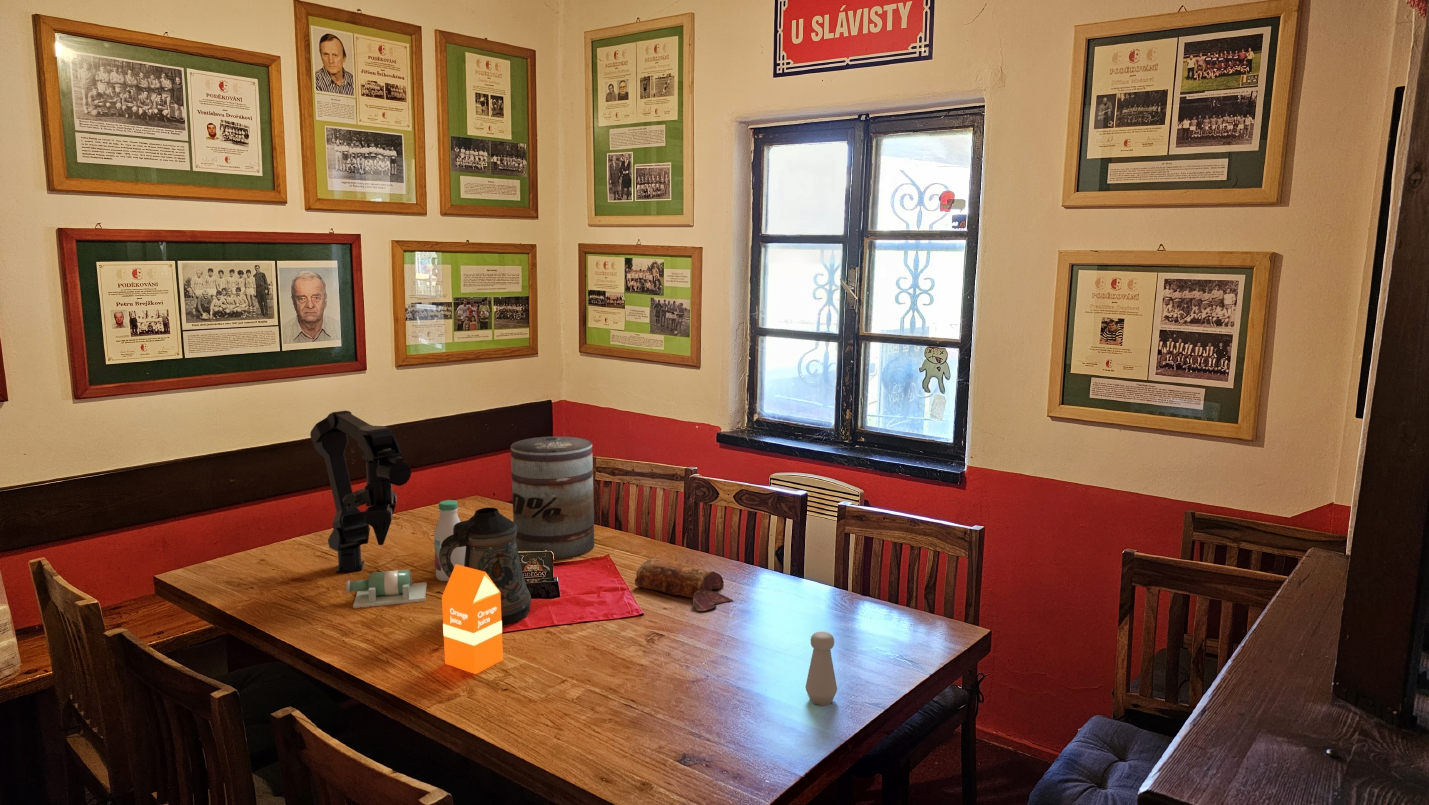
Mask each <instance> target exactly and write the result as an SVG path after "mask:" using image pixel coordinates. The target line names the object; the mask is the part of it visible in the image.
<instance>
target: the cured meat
mask: <svg viewBox="0 0 1429 805" xmlns="http://www.w3.org/2000/svg"><path fill="white" fill-rule="evenodd" d="M635 576H636V577H635V578H634V585H635V586H636V587H640V588H644V589H649V590H653V591H657V592H658V591H659V592H661V593H666V594H667V595H669V594H670V595H675V596H681V597H685V598H686V597H687V598H691V599H692V604H693V606H694V607H695V608H694V609H695V610H696V611H699V612H706V611H708V610H711V609H713V608H716V607H717V605H716V604H721V603H725V602H731V601H733V600H734V599H733V598H730V597H728V596H725V595H724V594H722V593H719V592H716V591H713V590H716V589H717V590H722V589H723V588H724V586H725V585H724V583H725V582H724V578H723V577H722V575H721V574H719V573H718V572H715V571H713V570H709V569H706V568H704V567H699V566H697V565H692V564H687V563H685V562H680V561H673V560H666V559H658V558H654V557H651V558H649V559H647V560H646V561H644V562H642V563H641V564H640V565H639V567H638V569H637V571H636V574H635Z"/></svg>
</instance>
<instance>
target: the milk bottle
mask: <svg viewBox="0 0 1429 805" xmlns="http://www.w3.org/2000/svg"><path fill="white" fill-rule="evenodd" d="M458 507H459V506H458V501H457V500H452V499H448V500H442V501H440V502H439V503H438V511H439V517H438V521H437V523H436V526H435V528H434V529H435V530H434V536H433V538H434V541H433V543H434V561H435V562H434V566H435V577H436V579H437V580H438V581H441V582H448V581H449V579H450V578H449V577H448V576H447V575H446V574H445V572H444V571H443V569H442V567H441V565H440V561H439V552H440V548H441V544H442V542H443V541H444V540H445V539H446V538H447V537H448V536H451V535H453V528H454V525H456V524H457V523H459V522H462V521H461V520H460V518H459V515H458V510H459V509H458ZM465 552H466V546H464V547H456V548H455V549H454V550H453V551H452V554H451V558H450V559H451V563H452V564H453V566H454V567H455V564H457V565H460V566H464V561H465Z"/></svg>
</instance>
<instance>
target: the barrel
mask: <svg viewBox="0 0 1429 805" xmlns="http://www.w3.org/2000/svg"><path fill="white" fill-rule="evenodd" d="M593 459H594V458H593V442H592V441H591V440H589V439H587V438H582V437H576V436H574V437H573V436H541V437H540V436H539V437H531V438H524V439H522V440H521V439H520V440H518V441H515V442H512V444H510V463H511V468H510V469H511V488H512V518H513V520H512V521H513V522H514V523H515V524H516V525H517V528H518V529H517V535H516V537H515V540H516V545H517V550H518V551H545V550H547V551H552V552H553V553H554V559H555V560H554V561H561V560H563V561H564V560H568V559H573V557H575V558H578V557H582V556H584V555H586V554H588V553H590V552H591V551H592V550H593V549H594V548H595V521H594V520H595V518H594V517H595V515H594V514H595V512H594V511H595V510H594V470H593V469H594V468H593V465H594V464H593ZM581 555H582V556H581ZM577 556H578V557H577Z"/></svg>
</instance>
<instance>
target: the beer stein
mask: <svg viewBox="0 0 1429 805" xmlns="http://www.w3.org/2000/svg"><path fill="white" fill-rule="evenodd" d="M517 529H518V528H517V525H516V524H515V523H514V522H513V520H511V519H510V518H508V517H507V516H505V515H503V514H502V513H500V511H499V509H498V508H496V507H483V508H479V509H477V510H475V512H474V514H473V515H472V516H471V517H470V518H469V519H467V520H462V521H461V522H459V523H457V524H456V525H454V528H453V535H451V536H448V537H447V538H446V539H445V540H444V541H443V542H442V544H441V548H440V552H439V561H440V565H441V567H442V569H443V571H444V572H445V574H446V575H447V576H448V577H449V578H450V577H451V574H452V572H453V570H454V566H453V564H452V563H451V559H450V558H451V554H452V551H453V550H454V549H455V548H456V547H464V546H466V552H465V561H464V567H468V568H472V569H476V570H480V571H483V572H486V574H487V575H488V576H489V578H490V579H491V580H492V582H493V583H494V584H495V586H496V587H497V588H498V590H499V591H500V592H501V593H500V597H501V620H502V627H506V626H510V625H513V624H515V623H519V622H521V621H523V620H524V619H526V618H527V617H528V615H529V614H530V608H531V602H532V595H531V592H530V591H529V589H528V587H527V583H526V581H525V578H524V577H525V576H524V574H523V571H522V565H521V562H520V556H519V555H518V550H517V545H516V540H515V537H516V535H517ZM504 625H505V626H504Z"/></svg>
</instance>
